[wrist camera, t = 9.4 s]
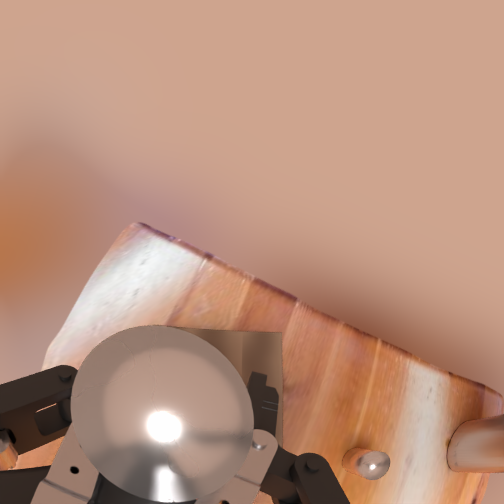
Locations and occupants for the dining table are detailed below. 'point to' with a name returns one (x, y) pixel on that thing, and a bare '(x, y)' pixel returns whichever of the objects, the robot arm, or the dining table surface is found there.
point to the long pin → (162, 414)
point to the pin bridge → (251, 358)
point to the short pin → (366, 463)
